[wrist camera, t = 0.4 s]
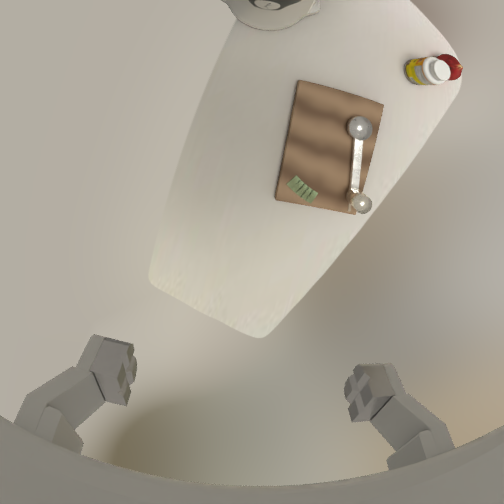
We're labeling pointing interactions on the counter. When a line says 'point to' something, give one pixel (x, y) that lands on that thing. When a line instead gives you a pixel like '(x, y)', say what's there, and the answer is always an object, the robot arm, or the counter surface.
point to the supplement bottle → (427, 71)
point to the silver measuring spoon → (358, 162)
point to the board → (324, 147)
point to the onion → (452, 65)
